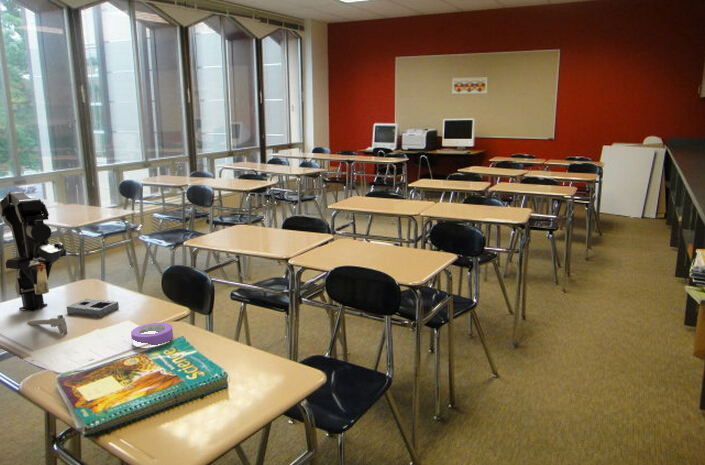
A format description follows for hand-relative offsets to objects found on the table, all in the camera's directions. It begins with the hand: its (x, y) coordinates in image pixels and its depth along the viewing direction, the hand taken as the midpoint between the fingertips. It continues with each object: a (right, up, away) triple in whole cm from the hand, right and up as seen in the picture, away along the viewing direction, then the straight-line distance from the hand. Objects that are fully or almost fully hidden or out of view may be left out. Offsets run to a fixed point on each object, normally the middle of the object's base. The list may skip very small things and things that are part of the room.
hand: (40, 282), depth 178 cm
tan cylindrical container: (0, -3, +1) cm, 4 cm away
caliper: (+5, -15, -5) cm, 16 cm away
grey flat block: (+13, -11, +10) cm, 20 cm away
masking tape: (+44, -16, -16) cm, 49 cm away
